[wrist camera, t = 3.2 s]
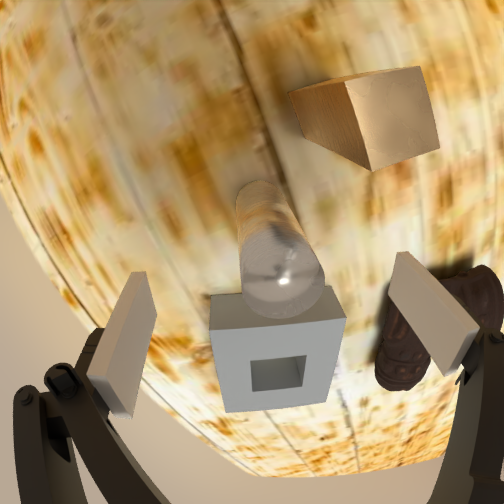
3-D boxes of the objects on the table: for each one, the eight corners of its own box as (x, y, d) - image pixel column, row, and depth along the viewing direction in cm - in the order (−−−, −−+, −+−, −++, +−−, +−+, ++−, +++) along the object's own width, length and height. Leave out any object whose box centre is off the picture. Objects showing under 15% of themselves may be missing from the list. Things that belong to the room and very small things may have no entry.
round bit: (234, 181, 23) (239, 252, 13) (283, 179, 23) (328, 246, 13) (237, 227, 25) (244, 321, 15) (283, 224, 25) (320, 314, 15)
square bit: (287, 92, 20) (344, 81, 10) (332, 78, 20) (420, 65, 9) (305, 138, 22) (372, 172, 11) (348, 123, 21) (440, 148, 11)
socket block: (211, 295, 28) (208, 330, 24) (330, 285, 29) (346, 317, 24) (225, 380, 35) (225, 412, 31) (316, 371, 36) (325, 401, 31)
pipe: (379, 408, 30) (478, 383, 27) (397, 318, 23) (515, 292, 21) (367, 354, 38) (455, 337, 35) (373, 265, 32) (475, 251, 29)
